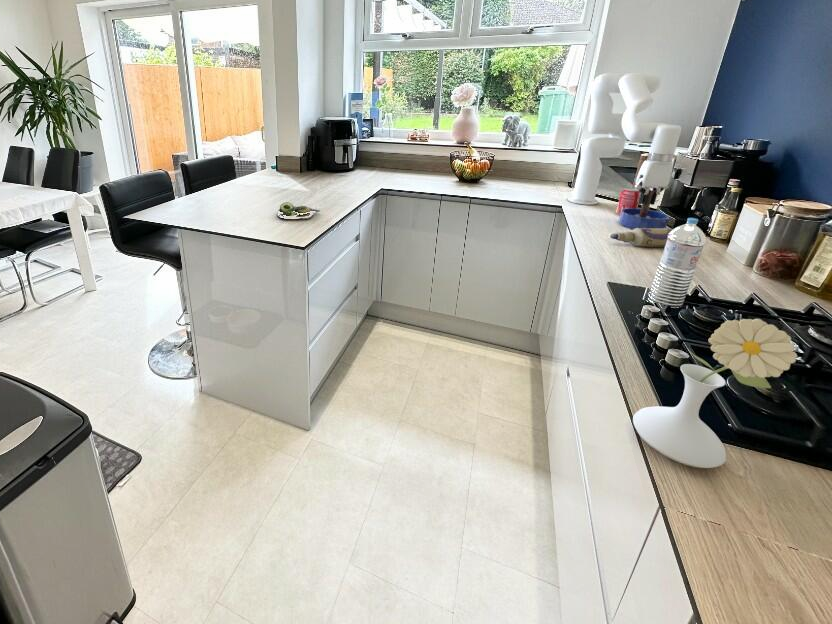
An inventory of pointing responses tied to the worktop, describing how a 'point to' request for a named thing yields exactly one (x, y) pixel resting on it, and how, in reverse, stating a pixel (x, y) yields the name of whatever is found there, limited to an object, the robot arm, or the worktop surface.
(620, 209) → the soda can
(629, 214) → the blue bowl
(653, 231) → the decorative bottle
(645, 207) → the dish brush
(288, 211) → the salad plate
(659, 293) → the water bottle
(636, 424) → the flower in vase
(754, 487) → the worktop surface
